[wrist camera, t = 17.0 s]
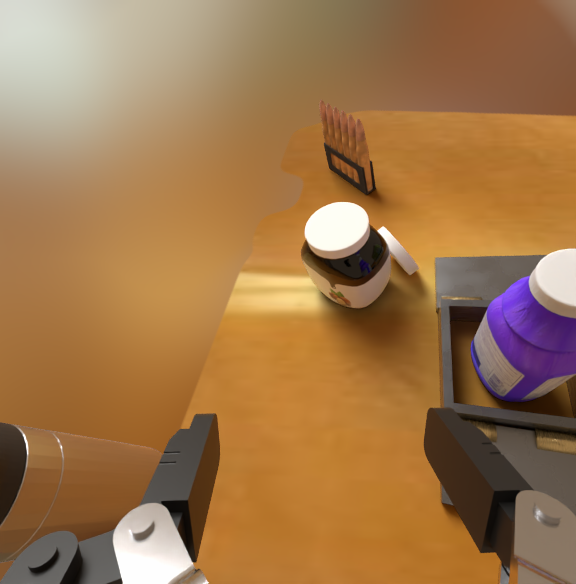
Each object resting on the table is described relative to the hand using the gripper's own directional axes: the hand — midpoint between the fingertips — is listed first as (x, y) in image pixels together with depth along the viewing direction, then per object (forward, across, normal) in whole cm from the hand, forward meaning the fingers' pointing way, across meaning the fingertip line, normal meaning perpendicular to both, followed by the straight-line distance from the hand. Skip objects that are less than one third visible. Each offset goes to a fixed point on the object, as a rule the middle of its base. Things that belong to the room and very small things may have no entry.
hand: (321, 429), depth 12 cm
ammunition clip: (+46, -11, -12) cm, 49 cm away
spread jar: (+31, -10, +2) cm, 33 cm away
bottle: (+18, -21, +8) cm, 29 cm away
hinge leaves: (+18, -21, +8) cm, 29 cm away
